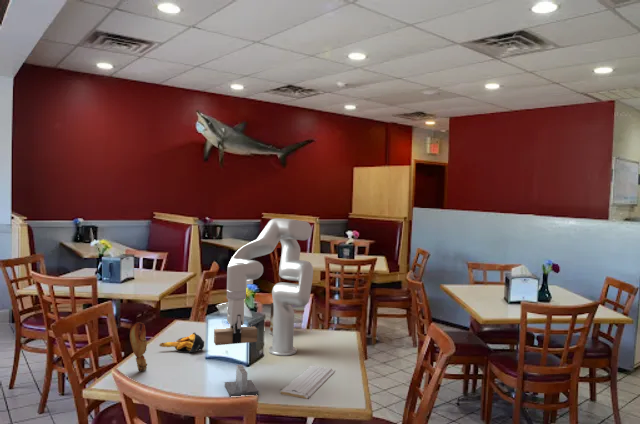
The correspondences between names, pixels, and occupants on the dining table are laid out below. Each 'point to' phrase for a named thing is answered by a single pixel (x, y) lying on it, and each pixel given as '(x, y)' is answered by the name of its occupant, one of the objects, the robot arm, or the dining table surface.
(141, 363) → the crab claw
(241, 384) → the ridge stand
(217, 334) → the tan long block
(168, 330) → the dining table surface
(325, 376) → the baseboard molding
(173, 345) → the fried shrimp in bowl
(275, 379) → the dining table surface
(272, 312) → the coffee box
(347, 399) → the dining table surface
